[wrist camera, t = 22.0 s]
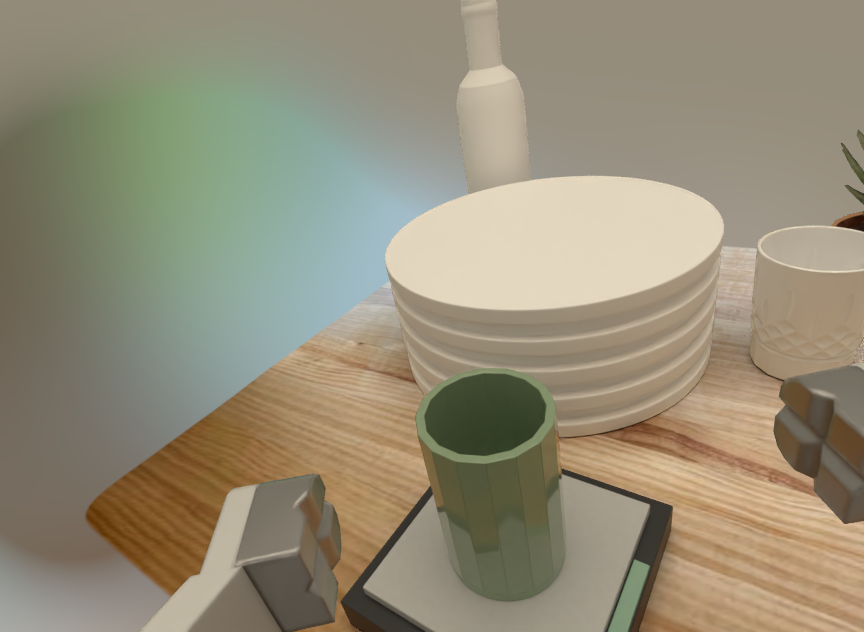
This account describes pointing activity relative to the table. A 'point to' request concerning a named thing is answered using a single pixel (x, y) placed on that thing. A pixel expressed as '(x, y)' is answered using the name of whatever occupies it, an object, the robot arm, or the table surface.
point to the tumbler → (496, 480)
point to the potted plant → (856, 220)
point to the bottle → (490, 106)
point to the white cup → (807, 300)
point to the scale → (542, 613)
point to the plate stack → (565, 292)
